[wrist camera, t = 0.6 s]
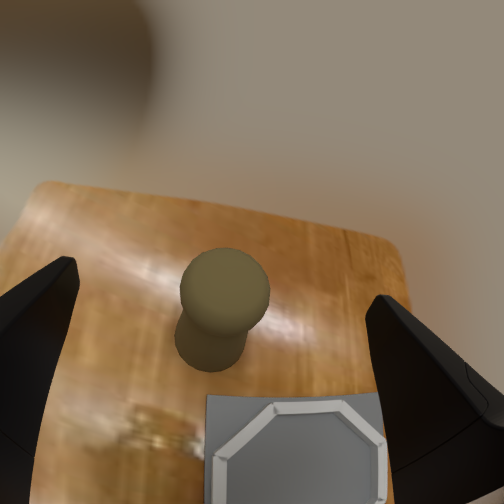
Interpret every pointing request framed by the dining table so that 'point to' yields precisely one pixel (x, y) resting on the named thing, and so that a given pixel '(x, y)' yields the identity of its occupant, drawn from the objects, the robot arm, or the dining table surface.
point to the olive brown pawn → (219, 307)
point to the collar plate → (295, 450)
